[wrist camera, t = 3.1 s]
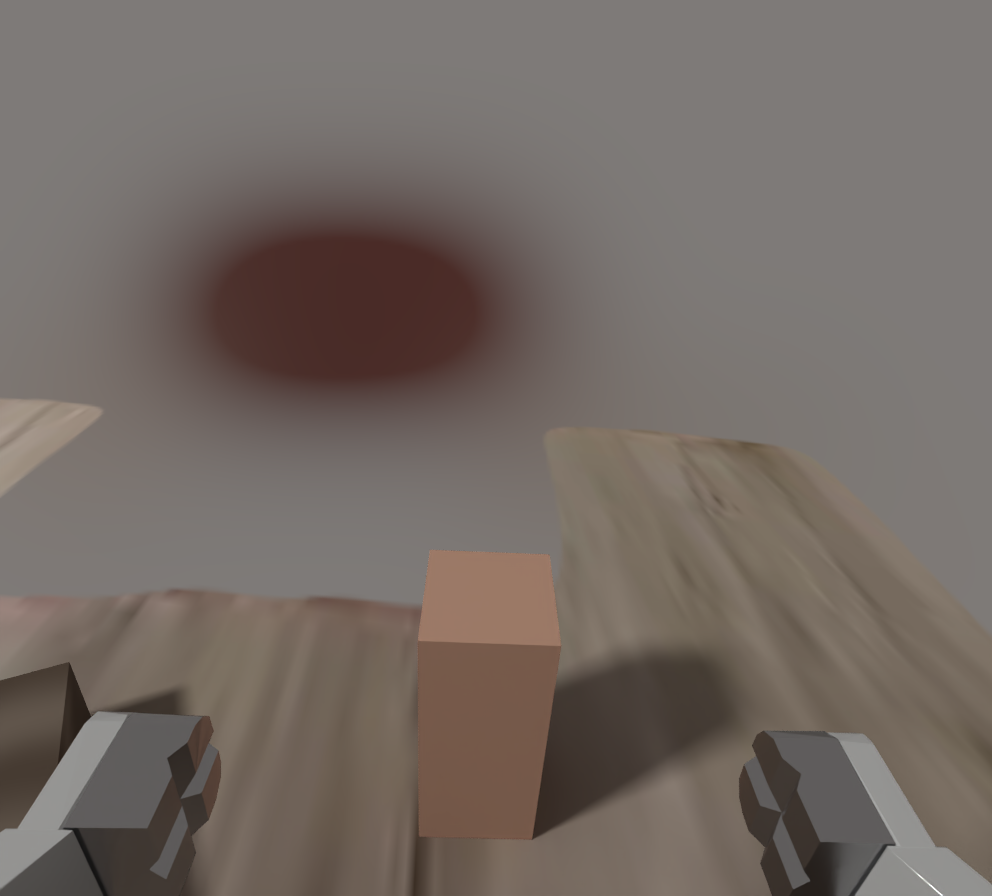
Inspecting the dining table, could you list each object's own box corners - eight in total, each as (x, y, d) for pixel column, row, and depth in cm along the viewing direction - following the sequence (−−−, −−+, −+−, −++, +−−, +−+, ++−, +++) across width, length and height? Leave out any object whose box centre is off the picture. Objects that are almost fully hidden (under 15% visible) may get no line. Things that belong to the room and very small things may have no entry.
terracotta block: (532, 839, 28) (561, 646, 22) (419, 836, 27) (417, 640, 22) (526, 738, 32) (549, 554, 26) (428, 735, 32) (430, 549, 26)
